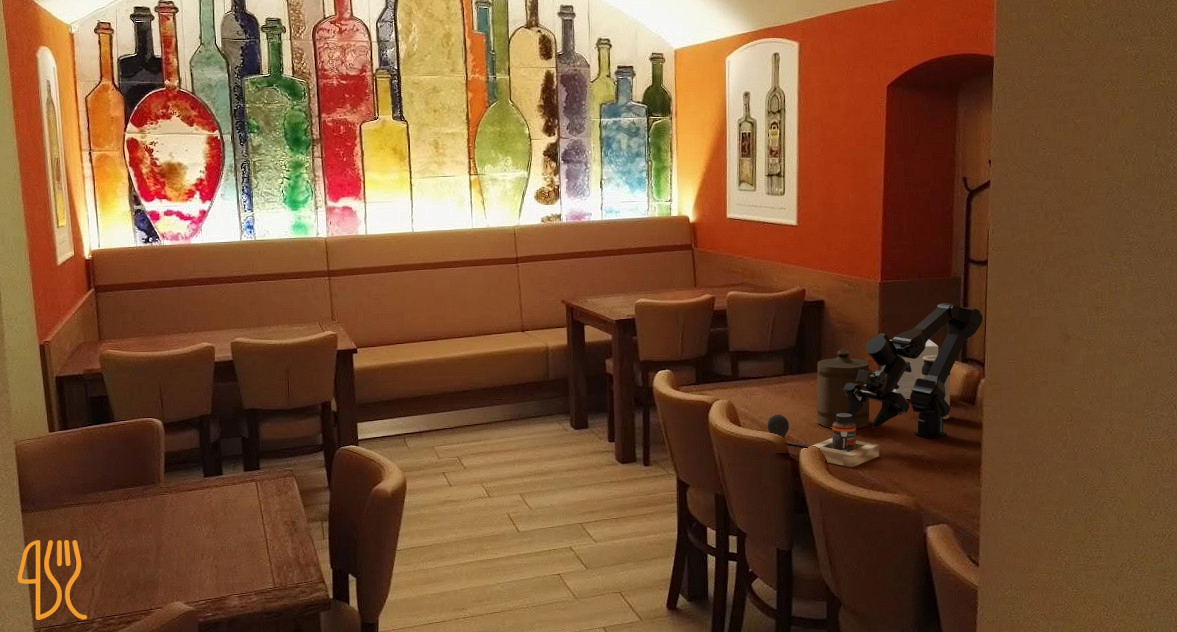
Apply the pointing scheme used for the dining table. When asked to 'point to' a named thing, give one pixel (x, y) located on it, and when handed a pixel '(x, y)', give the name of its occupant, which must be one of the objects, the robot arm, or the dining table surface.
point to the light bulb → (778, 425)
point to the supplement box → (915, 370)
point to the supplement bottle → (844, 433)
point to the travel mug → (925, 370)
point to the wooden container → (839, 389)
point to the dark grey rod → (798, 444)
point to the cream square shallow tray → (849, 453)
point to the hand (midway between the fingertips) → (860, 423)
